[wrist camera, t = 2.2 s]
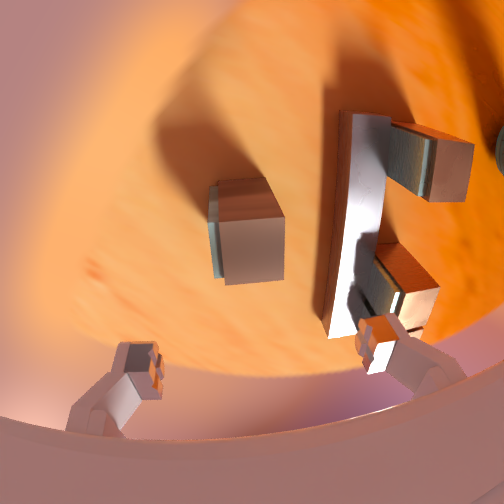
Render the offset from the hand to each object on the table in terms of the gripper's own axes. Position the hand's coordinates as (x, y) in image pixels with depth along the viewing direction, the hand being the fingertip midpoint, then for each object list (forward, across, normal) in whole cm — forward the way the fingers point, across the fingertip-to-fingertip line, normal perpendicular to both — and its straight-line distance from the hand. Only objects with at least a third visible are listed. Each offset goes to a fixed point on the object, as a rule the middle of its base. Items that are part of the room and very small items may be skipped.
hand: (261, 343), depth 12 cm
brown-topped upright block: (+13, 0, -1) cm, 13 cm away
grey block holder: (+13, -11, +2) cm, 17 cm away
